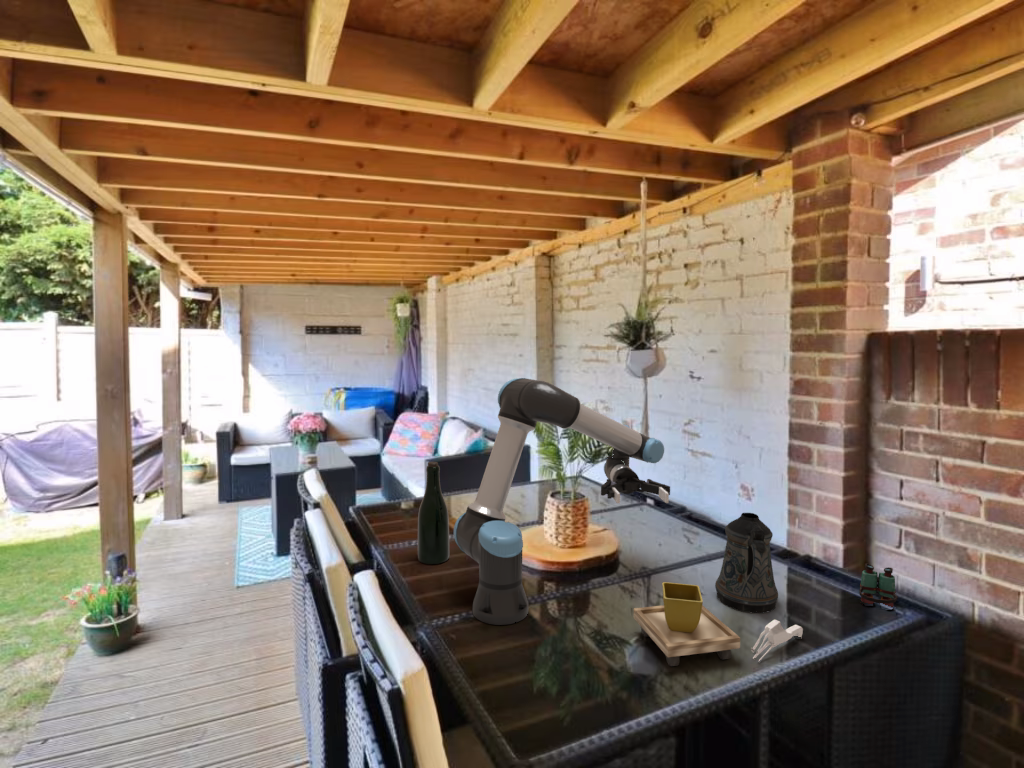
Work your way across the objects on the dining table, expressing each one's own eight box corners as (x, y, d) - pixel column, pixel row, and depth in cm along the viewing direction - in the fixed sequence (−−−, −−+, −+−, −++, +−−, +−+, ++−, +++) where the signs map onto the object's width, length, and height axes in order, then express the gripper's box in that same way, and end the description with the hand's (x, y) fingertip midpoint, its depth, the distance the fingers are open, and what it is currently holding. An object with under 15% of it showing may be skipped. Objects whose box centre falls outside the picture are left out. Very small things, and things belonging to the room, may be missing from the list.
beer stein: (746, 583, 171) (750, 503, 169) (800, 612, 153) (804, 523, 151) (702, 592, 165) (705, 508, 163) (753, 623, 147) (756, 530, 145)
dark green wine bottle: (428, 568, 181) (427, 467, 178) (412, 558, 189) (411, 461, 186) (455, 560, 188) (455, 462, 185) (438, 550, 196) (438, 457, 193)
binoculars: (861, 575, 154) (860, 559, 162) (858, 610, 156) (858, 593, 164) (900, 582, 149) (897, 566, 158) (897, 618, 151) (895, 600, 160)
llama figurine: (765, 684, 131) (805, 635, 140) (755, 647, 128) (797, 599, 136) (757, 680, 132) (797, 632, 141) (748, 644, 129) (790, 596, 138)
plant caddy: (667, 672, 125) (668, 646, 125) (633, 631, 143) (633, 608, 142) (739, 662, 129) (740, 637, 128) (697, 623, 146) (698, 601, 146)
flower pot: (701, 639, 130) (703, 601, 129) (662, 634, 131) (663, 597, 131) (697, 620, 138) (698, 585, 137) (661, 616, 140) (662, 581, 139)
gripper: (663, 490, 177) (686, 511, 156) (584, 491, 176) (597, 512, 155) (664, 467, 177) (687, 484, 155) (585, 467, 176) (598, 485, 154)
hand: (642, 498), depth 155 cm, fingers open, 13 cm apart
